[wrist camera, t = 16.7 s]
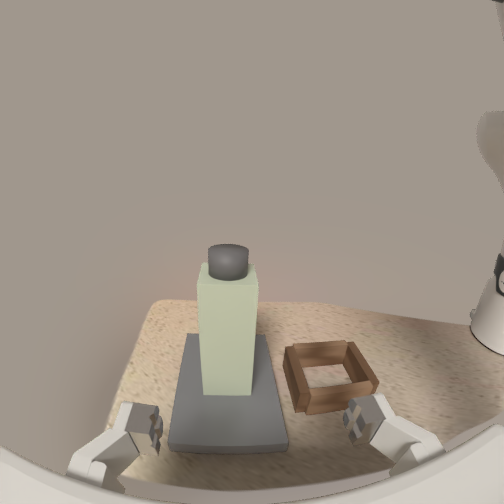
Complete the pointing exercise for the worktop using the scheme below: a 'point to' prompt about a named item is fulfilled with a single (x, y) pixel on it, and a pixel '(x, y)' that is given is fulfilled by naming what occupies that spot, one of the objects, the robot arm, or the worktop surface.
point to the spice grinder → (227, 320)
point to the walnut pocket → (321, 356)
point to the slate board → (226, 410)
